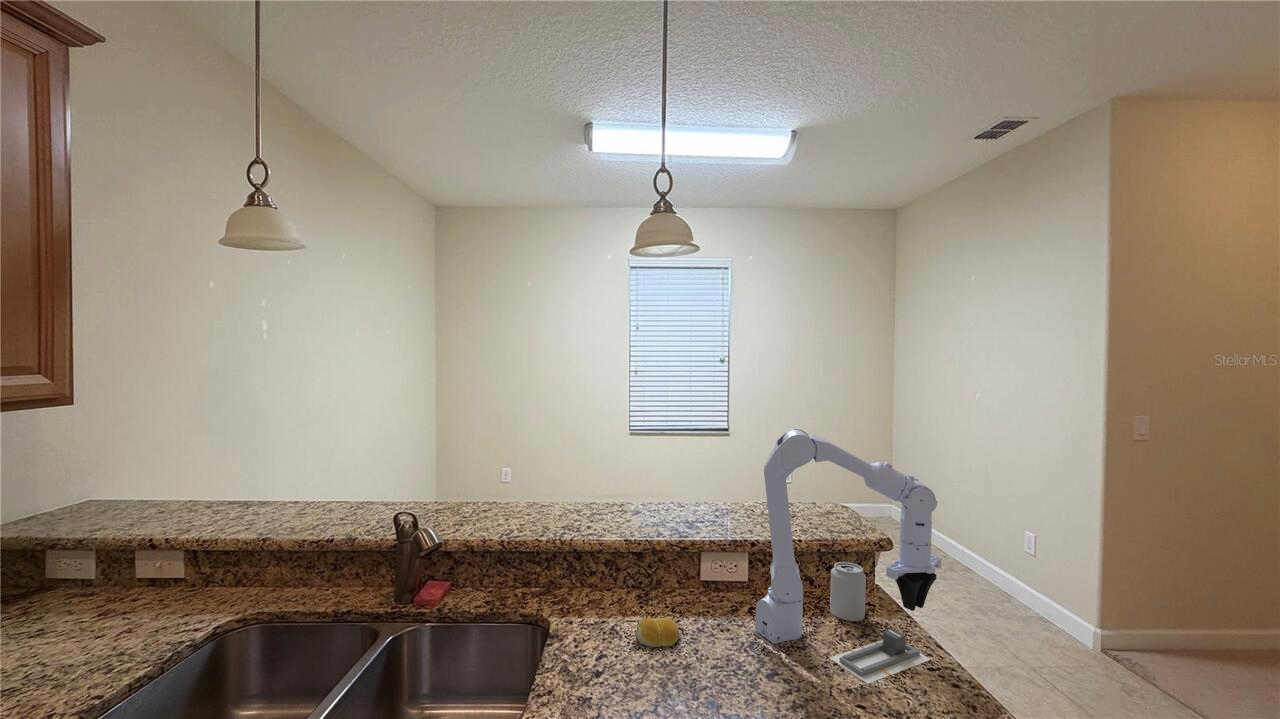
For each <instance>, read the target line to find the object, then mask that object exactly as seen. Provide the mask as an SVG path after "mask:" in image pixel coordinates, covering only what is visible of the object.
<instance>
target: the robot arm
mask: <svg viewBox="0 0 1280 719" xmlns="http://www.w3.org/2000/svg"><path fill="white" fill-rule="evenodd" d="M809 435H810V436H809ZM775 442H776V443H775V444H774V446H773V448H772V451H771V452H770V454H769V455H768V458H767V459H766V461H765V464H764V465H763V477H764V484H765V495H766V503H767V504H766V505H767V512H768V513H767V514H768V522H769V532H770V540H771V542H770V543H771V550H772V551H771V552H772V561H771V563H770V567H769V570H770V571H769V573H770V577H771V584H770V587H768V589H767V593H766V595H765V596H764V597H763V598H761V599H759V600H758V601H757V603H756V605H755V623H754V624H755V627H754V629H755V631H754V630H752V634H753V635H755V636H757V637H758V638H759V639H760V640H762V641H763V642H765V643H766V644H767V645H769V647H771V648H773V649H774V650H775V651H780V648H778V647H776V646H775V644H779V643H782V642H786V641H795V640H798V639H800V638H801V637H802V634H803V607H804V606H803V602H804V595H803V591H804V585H803V581H802V580H801V576H800V568H799V567H800V566H799V565H798V563H797V562H796V558H795V551H794V541H793V531H792V521H791V514H790V512H791V511H790V505H789V495H788V494H789V493H788V487H787V478H788V477H789V476H790V475H791V474H792V473H793V472H794V471H795V470H796V469H798V468H801V467H803V466H805V465H807V464H809V463H810V462H811V461H812V460H814V462H815V463H821V462H831V463H832V464H834V465H837V466H839V467H841V468H842V469H843V468H844V469H845V470H847V471H849V472H852V473H854V474H856V475H858V476H859V477H862V478H863V480H864V484H865V486H866V487H868V488H869V489H871V490H874V491H875V492H877V493H879V494H880V495H883V496H884V497H886V498H888V499H891V500H892V501H894V502H899V503H901V504H900V509H901V510H900V517H899V519H900V520H899V522H900V523H899V549H898V550H899V552H898V558H897V559H896V560H895V561H894V562H893V563H891V564H890V565H887V566H886V568H885V570H886V571H885V572H886V573H885V577H887V578H890V579H892V580H894V581H895V583H896V585H897V587H898V590H899V593H900V597H901V602H902V606H903V608H905V609H907V610H909V611H911V612H913V611H915V610H916V608H919V609H923V608H924V606H925V603H926V599H927V596H928V594H929V591H930V589H931V587H932V586H933V584H934V582H935V581H937V573H936V569H940V568H942V558H941V557H938V556H936V555H933V554H932V533H933V532H932V531H933V528H932V527H933V525H932V524H933V521H932V519H933V518H932V516H933V515H932V513H933V512H934V511H935V510H936V509H937V506H938V500H937V499H936V496H935V493H934V492H933V490H931V489H930V488H929V487H928V486H927V485H925V484H924V483H923V482H921V481H919V480H918V479H917V478H915V476H913V475H911V474H909V475H906V474H904V473H902V472H900V471H898V470H896V469H894V468H893V467H894V465H892V464H891V463H889V462H887V461H885V462H884V463H883V462H881V461H876V462H872V463H869V462H867V461H865V459H864V460H863V459H862V458H860V457H859V456H856V455H855V454H853V453H851V452H849V451H847V450H845V449H843V448H842V447H840V446H838V445H837V444H835V443H833V442H831V441H829V440H826V439H825V438H822V437H820V436H818V435H815V434H813V433H809V434H808V433H807V432H806V431H804V430H803V429H800V428H792V429H788V430H787V431H786V432H784V433H783V434H781V436H780V437H779V438H778V439H777V440H776V441H775Z"/></svg>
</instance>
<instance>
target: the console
mask: <svg viewBox="0 0 1280 719" xmlns="http://www.w3.org/2000/svg"><path fill="white" fill-rule="evenodd" d="M829 659H830V660H832V661H833V662H835V664H837V665H839V666H840V667H842V668H843V669H845V670H846V671H848V672H849V673H850V674H852V675H854V676H855V677H857V678H858V679H860V680H861V681H862V682H864V683H866V684H868V685H869V684H871V683H874V682H877V681H879V680H882V679H885V678H887V677H890V676H891V675H895V674H897V673H899V672H903V671H905V670H908V669H910V668H912V667H915V666H918V665H921V664H923V663H926V662H928V661H931V660H932V658H929V656H926V655H924V654H923V653H921V650H919V649H917V648H915V647H913V646H911V645H910V644H908V643H906V647H905V652H904V653H901V654H899V655H896V656H893V657H891V656H889V655H887V654H886V653H884V652H883V639H880V640H876V641H875V642H872V643H869V644H865V645H863V646H860V647H856V648H853V649H851V650H848V651H845V652H842V653H839V654H836V655H833V656H830V657H829Z"/></svg>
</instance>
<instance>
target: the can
mask: <svg viewBox="0 0 1280 719" xmlns="http://www.w3.org/2000/svg"><path fill="white" fill-rule="evenodd" d="M833 566H834V567H832V569H831V570H830V595H829V596H830V598H829V599H830V600H829V612H830V613H831V615H833V616H834V617H836V618H838V619H840V620H841V619H842V620H845V621H850V622H859V621H863V620H864V619H865V617H866V590H867V589H866V587H867V584H866V583H867V575H866V574H865V572H864V568H863V567H862V566H860V565H859V564H857V563H853V562H848V561H839V562H835V563H834V564H833Z"/></svg>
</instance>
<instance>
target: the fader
mask: <svg viewBox="0 0 1280 719" xmlns="http://www.w3.org/2000/svg"><path fill="white" fill-rule="evenodd" d="M882 634H883V636H882V640H883V652H884V653H886V654H887V655H889V656H891V657H893V656H896V655H899V654H901V653H904V652H905V647H906V644H907V643H906V641H907V637H906V636H907V635H906V634H904V633H902V632H900V631H898V630H896V629H895V628H892V629H888V630H885V631H883V632H882Z"/></svg>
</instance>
